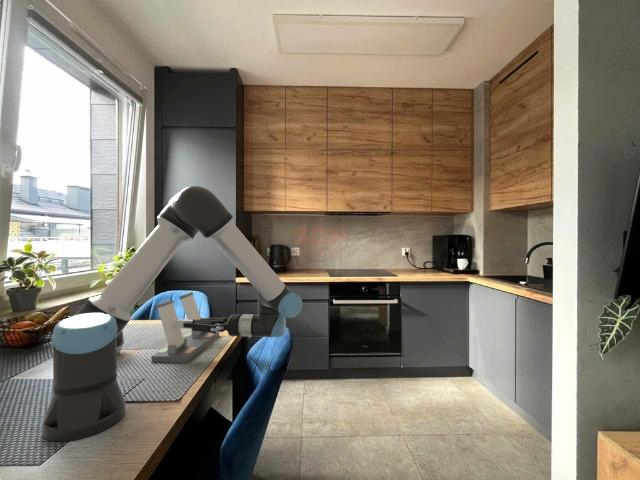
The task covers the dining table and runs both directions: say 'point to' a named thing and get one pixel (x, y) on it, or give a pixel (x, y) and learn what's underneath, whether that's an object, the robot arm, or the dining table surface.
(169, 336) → the near lever
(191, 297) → the far lever
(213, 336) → the switch base
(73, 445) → the dining table surface
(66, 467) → the dining table surface
